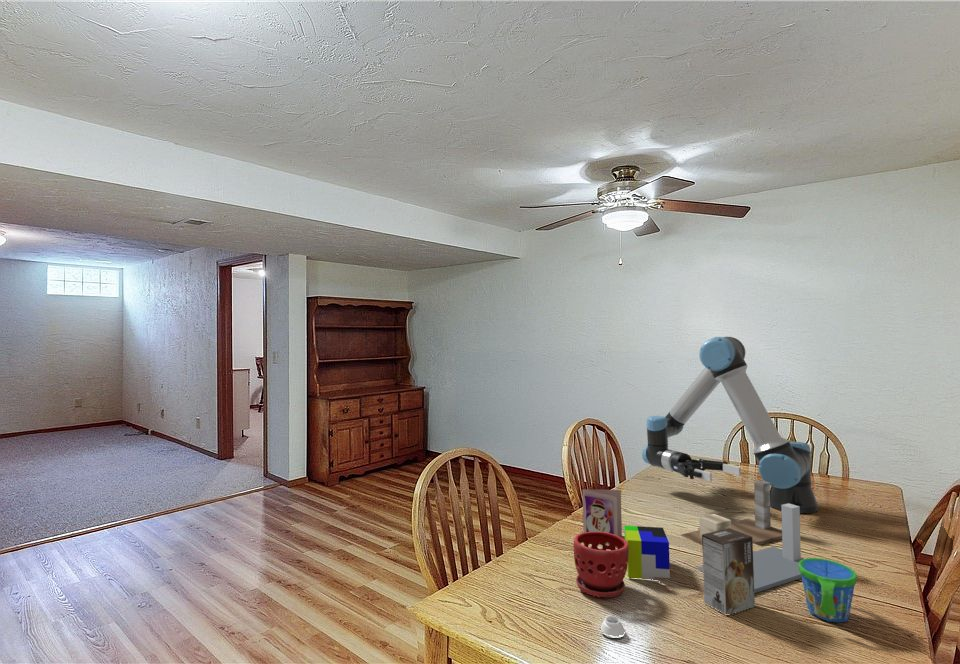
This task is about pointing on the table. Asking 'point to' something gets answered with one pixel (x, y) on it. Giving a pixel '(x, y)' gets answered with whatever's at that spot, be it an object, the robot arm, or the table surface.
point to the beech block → (713, 523)
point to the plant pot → (601, 563)
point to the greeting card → (602, 511)
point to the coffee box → (728, 570)
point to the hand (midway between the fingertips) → (725, 474)
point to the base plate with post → (779, 554)
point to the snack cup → (828, 588)
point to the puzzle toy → (647, 552)
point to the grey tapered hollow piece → (612, 626)
